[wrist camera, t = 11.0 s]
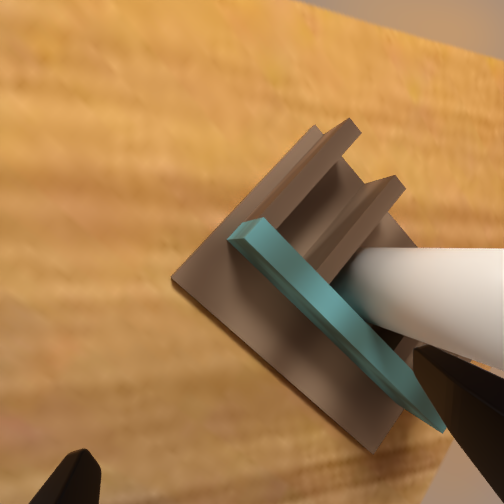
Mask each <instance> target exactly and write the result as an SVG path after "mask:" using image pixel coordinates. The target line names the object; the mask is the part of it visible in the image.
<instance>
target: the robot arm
mask: <svg viewBox="0 0 504 504" xmlns="http://www.w3.org/2000/svg"><path fill="white" fill-rule="evenodd" d="M413 372H414V375H415V377H416V379H417V380H418V382H419V384H420V385H421V387H422V388H423V390H424V392H425V393H426V395H427V396H428V398H429V400H430V401H431V403H432V404H433V406H434V408H435V409H436V411H437V413H438V414H439V416H440V417H441V419H442V421H443V422H444V424H445V425H446V427H447V428H448V430H449V431H450V433H451V434H452V436H453V437H454V438H455V440H456V441H457V442H458V444H459V445H460V446H461V448H462V449H463V450H464V452H465V453H466V454H467V456H468V457H469V458H470V459H471V461H472V462H473V464H474V465H475V466H476V467H477V468H478V470H479V471H480V473H481V474H482V475H483V477H484V478H485V479H486V481H487V482H488V483H489V484H490V486H491V487H492V489H493V490H494V491H495V493H496V494H497V495H498V496H499V498H500V499H501V500H502V502H503V503H504V379H503V378H501V377H499V376H497V375H495V374H493V373H491V372H489V371H486V370H484V369H482V368H480V367H478V366H476V365H473V364H471V363H469V362H467V361H465V360H463V359H461V358H458V357H456V356H454V355H452V354H450V353H448V352H446V351H443V350H441V349H439V348H437V347H435V346H433V345H430V344H424V345H421V346H418V347H415V348H414V349H413ZM100 484H101V468H100V466H99V464H98V463H97V461H96V460H95V459H94V457H93V456H92V455H91V453H90V452H89V451H88V450H87V449H85V448H84V449H80V450H76V451H73V452H71V453H69V454H68V455H67V456H66V457H65V458H64V459H63V460H62V462H61V463H60V464H59V466H58V467H57V468H56V469H55V471H54V472H53V473H52V475H51V476H50V477H49V478H48V480H47V481H46V482H45V483H44V485H43V486H42V487H41V489H40V490H39V491H38V492H37V494H36V495H35V496H34V498H33V499H32V500H31V501H30V503H29V504H99V495H100Z"/></svg>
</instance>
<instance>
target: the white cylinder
mask: <svg viewBox="0 0 504 504" xmlns="http://www.w3.org/2000/svg"><path fill="white" fill-rule="evenodd" d="M329 285H330V286H331V287H332V288H333V289H334V290H335V291H336V292H337V293H338V294H339V295H340V296H341V297H342V298H343V299H344V301H345V302H346V303H347V304H348V305H349V306H350V307H351V308H352V309H353V310H354V311H355V312H356V313H357V314H358V315H359V316H360V317H361V318H362V319H363V320H364V321H366V322H368V323H371V324H374V325H377V326H380V327H382V328H385V329H388V330H391V331H393V332H396V333H399V334H402V335H405V336H407V337H410V338H413V339H416V340H419V341H421V342H424V343H427V344H430V345H433V346H435V347H438V348H441V349H444V350H446V351H449V352H452V353H455V354H458V355H460V356H463V357H466V358H469V359H472V360H474V361H477V362H480V363H483V364H486V365H488V366H491V367H494V368H497V369H500V370H502V371H504V249H486V248H374V247H359V248H358V249H357V250H356V252H355V253H354V254H353V255H352V257H351V258H350V259H349V260H348V262H347V263H346V264H345V265H344V266H343V268H342V269H341V270H340V271H339V273H338V274H337V275H336V276H335V278H334V279H333V280H332V281H331V283H330V284H329Z"/></svg>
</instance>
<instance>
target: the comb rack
mask: <svg viewBox="0 0 504 504" xmlns="http://www.w3.org/2000/svg"><path fill="white" fill-rule="evenodd" d="M360 134H361V132H360V130H359V129H358V128H357V126H356V125H355V124H354V123H353V121H352V120H351V119H350V118H348V119H347V120H345V121H344V122H342V123H340V124H339V125H337V126H336V127H334V128H333V129H331V130H330V131H328V132H327V133H325V134H324V135H323V134H322V132H321V131H320V130H319V129H318V128H317V126H316V125H314V126H312V127H311V128H310V129H309V130H308V131H307V132H306V133H305V134H304V135H303V136H302V138H301V139H300V140H299V141H298V142H297V143H296V144H295V145H294V146H293V147H292V148H291V149H290V150H289V151H288V152H287V153H286V155H285V156H284V157H283V158H282V159H281V160H280V161H279V162H278V163H277V164H276V165H275V166H274V167H273V168H272V169H271V171H270V172H269V173H268V174H267V175H266V176H265V177H264V178H263V179H262V180H261V181H260V182H259V183H258V184H257V185H256V186H255V188H254V189H253V190H252V191H251V192H250V193H249V194H248V195H247V196H246V197H245V198H244V199H243V200H242V201H241V202H240V204H239V205H238V206H237V207H236V208H235V209H234V210H233V211H232V212H231V213H230V214H229V215H228V216H227V217H226V218H225V219H224V221H223V222H222V223H221V224H220V225H219V226H218V227H217V228H216V229H215V230H214V231H213V232H212V233H211V234H210V235H209V236H208V238H207V239H206V240H205V241H204V242H203V243H202V244H201V245H200V246H199V247H198V248H197V249H196V250H195V251H194V252H193V254H192V255H191V256H190V257H189V258H188V259H187V260H186V261H185V262H184V263H183V264H182V265H181V266H180V267H179V268H178V269H177V271H176V272H175V273H174V274H173V275H172V276H171V278H172V279H173V280H174V281H175V282H176V283H178V284H179V285H180V286H181V287H182V288H183V289H184V290H186V291H187V292H188V293H189V294H190V295H191V296H192V297H194V298H195V299H196V300H197V301H198V302H199V303H200V304H202V305H203V306H204V307H205V308H206V309H207V310H208V311H210V312H211V313H212V314H213V315H214V316H215V317H216V318H218V319H219V320H220V321H221V322H222V323H223V324H224V325H226V326H227V327H228V328H229V329H230V330H231V331H232V332H234V333H235V334H236V335H237V336H238V337H239V338H240V339H242V340H243V341H244V342H245V343H246V344H247V345H248V346H250V347H251V348H252V349H253V350H254V351H255V352H256V353H258V354H259V355H260V356H261V357H262V358H263V359H264V360H266V361H267V362H268V363H269V364H270V365H271V366H272V367H274V368H275V369H276V370H277V371H278V372H279V373H280V374H282V375H283V376H284V377H285V378H286V379H287V380H288V381H290V382H291V383H292V384H293V385H294V386H295V387H296V388H298V389H299V390H300V391H301V392H302V393H303V394H304V395H306V396H307V397H308V398H309V399H310V400H311V401H312V402H314V403H315V404H316V405H317V406H318V407H319V408H320V409H322V410H323V411H324V412H325V413H326V414H327V415H328V416H330V417H331V418H332V419H333V420H334V421H335V422H336V423H338V424H339V425H340V426H341V427H342V428H343V429H344V430H346V431H347V432H348V433H349V434H350V435H351V436H352V437H354V438H355V439H356V440H357V441H358V442H359V443H360V444H362V445H363V446H364V447H365V448H366V449H367V450H368V451H370V452H371V453H372V454H374V453H375V451H376V450H377V448H378V447H379V446H380V444H381V443H382V441H383V440H384V438H385V437H386V435H387V434H388V432H389V431H390V429H391V428H392V426H393V425H394V423H395V422H396V420H397V419H398V417H399V416H400V414H401V413H402V411H403V410H404V409H405V410H407V411H409V412H410V413H412V414H413V415H415V416H416V417H418V418H419V419H421V420H422V421H424V422H425V423H427V424H429V425H430V426H432V427H433V428H435V429H436V430H438V431H439V432H441V433H442V434H443V432H444V431H445V429H446V425H445V424H444V422H443V421H442V419H441V417H440V416H439V414H438V413H437V411H436V409H435V408H434V406H433V404H432V403H431V401H430V400H429V398H428V396H427V395H426V393H425V392H424V390H423V388H422V387H421V385H420V384H419V382H418V380H417V379H416V377H415V375H414V372H413V349H414V348H415V347H418V346H421V345H424V344H427V343H424V342H421V341H419V340H416V339H413V338H410V337H407V336H405V335H402V334H399V333H396V332H393V331H391V330H388V329H385V328H382V327H380V326H377V325H374V324H371V323H368V322H366V321H364V320H363V319H362V318H361V317H360V316H359V315H358V314H357V313H356V312H355V311H354V310H353V309H352V308H351V307H350V306H349V305H348V304H347V303H346V302H345V301H344V299H343V298H342V297H341V296H340V295H339V294H338V293H337V292H336V291H335V290H334V289H333V288H332V287H331V286H330V285H329V284H330V283H331V281H332V280H333V279H334V278H335V276H336V275H337V274H338V273H339V271H340V270H341V269H342V268H343V266H344V265H345V264H346V263H347V262H348V260H349V259H350V258H351V257H352V255H353V254H354V253H355V252H356V250H357V249H358V248H359V247H374V248H418V247H417V246H416V245H415V244H414V243H413V241H412V240H411V239H410V238H409V237H408V235H407V234H406V233H405V232H404V231H403V229H402V228H401V227H400V226H399V225H398V223H397V222H396V221H395V220H394V219H393V217H392V216H391V215H390V214H389V213H388V211H389V209H390V208H391V207H392V206H393V204H394V203H395V202H396V201H397V199H398V198H399V197H400V196H401V194H402V193H403V192H404V191H405V189H406V188H405V187H404V186H403V184H402V183H401V182H400V180H399V179H398V178H397V177H396V175H393V176H390V177H386V178H383V179H379V180H376V181H373V182H369V183H366V184H364V183H363V181H362V180H361V179H360V178H359V177H358V175H357V174H356V173H355V172H354V171H353V169H352V168H351V167H350V166H349V165H348V164H347V162H346V161H345V160H344V159H343V158H342V155H343V154H344V152H345V151H346V150H347V149H348V148H349V147H350V146H351V145H352V143H353V142H354V141H355V140H356V139H357V138H358V137H359V136H360ZM437 348H438V347H437ZM439 349H441V348H439ZM441 350H443V351H446V350H444V349H441ZM446 352H448V353H450V354H452V355H454V356H456V357H458V358H461V359H463V360H465V361H467V362H469V363H470V362H471V360H472V359H469V358H466V357H463V356H460V355H458V354H455V353H452V352H449V351H446Z"/></svg>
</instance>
